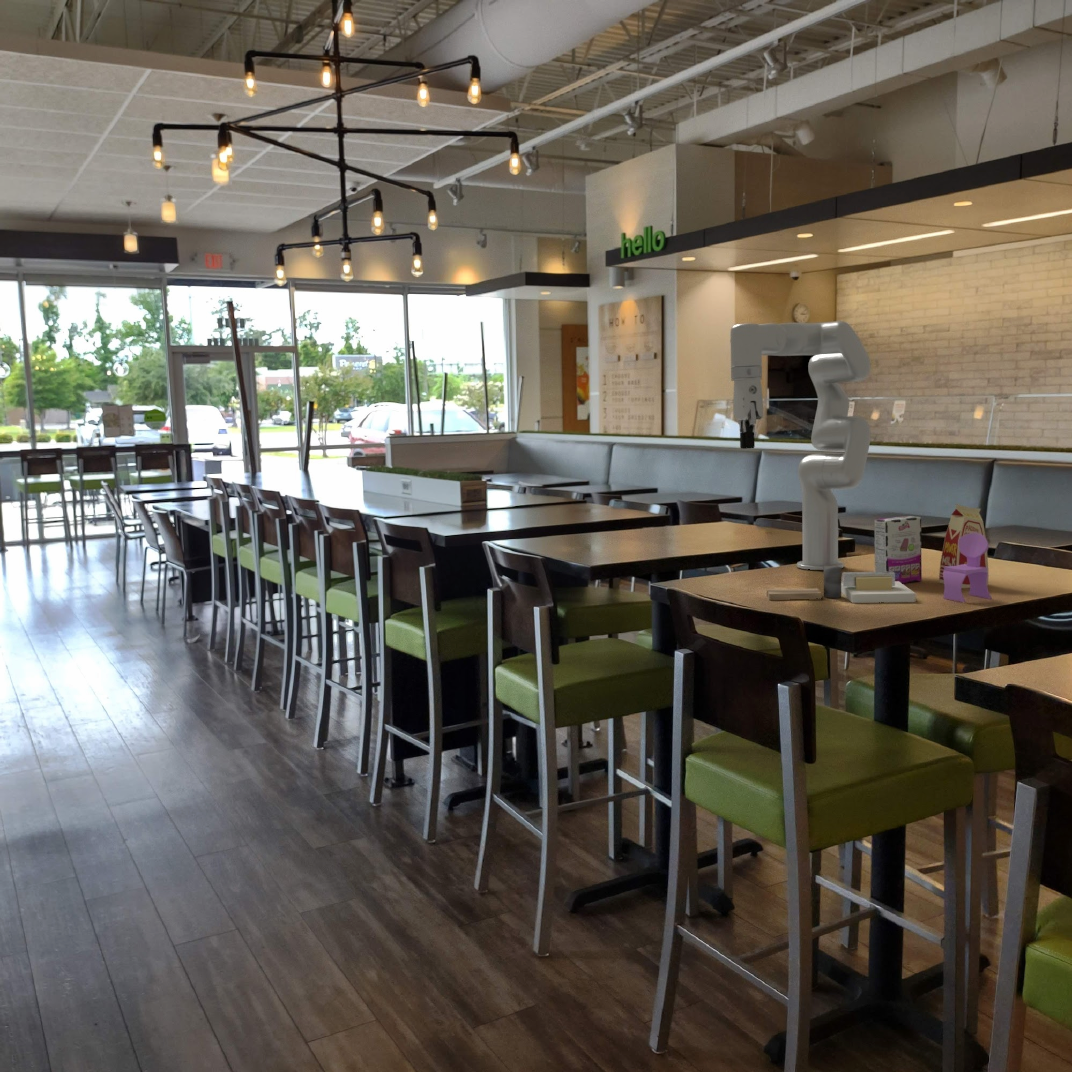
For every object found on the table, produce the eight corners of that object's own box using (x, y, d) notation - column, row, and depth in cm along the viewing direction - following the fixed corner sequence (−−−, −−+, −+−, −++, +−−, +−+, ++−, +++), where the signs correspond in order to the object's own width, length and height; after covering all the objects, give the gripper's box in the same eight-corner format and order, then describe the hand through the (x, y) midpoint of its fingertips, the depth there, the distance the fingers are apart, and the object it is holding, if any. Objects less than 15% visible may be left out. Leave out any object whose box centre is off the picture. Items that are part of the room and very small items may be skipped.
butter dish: (839, 590, 247) (839, 571, 247) (898, 589, 245) (898, 569, 245) (851, 602, 231) (851, 582, 231) (915, 602, 230) (915, 581, 229)
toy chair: (938, 598, 233) (938, 533, 231) (966, 594, 237) (967, 530, 235) (966, 604, 226) (967, 537, 224) (995, 599, 229) (996, 534, 227)
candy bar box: (908, 578, 259) (908, 515, 257) (922, 581, 255) (922, 516, 253) (873, 583, 255) (873, 518, 253) (886, 586, 251) (887, 520, 249)
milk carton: (959, 588, 244) (960, 506, 242) (936, 582, 253) (937, 502, 251) (992, 585, 246) (994, 503, 243) (969, 579, 255) (970, 500, 252)
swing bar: (844, 586, 238) (844, 574, 237) (842, 584, 240) (842, 572, 240) (894, 585, 236) (895, 573, 236) (892, 584, 239) (892, 571, 238)
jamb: (766, 595, 244) (766, 566, 244) (838, 594, 242) (838, 565, 242) (769, 600, 239) (769, 570, 238) (843, 598, 236) (843, 569, 236)
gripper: (771, 372, 244) (772, 448, 246) (751, 375, 259) (752, 446, 261) (741, 373, 243) (742, 450, 246) (722, 376, 258) (724, 448, 260)
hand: (747, 448), depth 253 cm, fingers closed
